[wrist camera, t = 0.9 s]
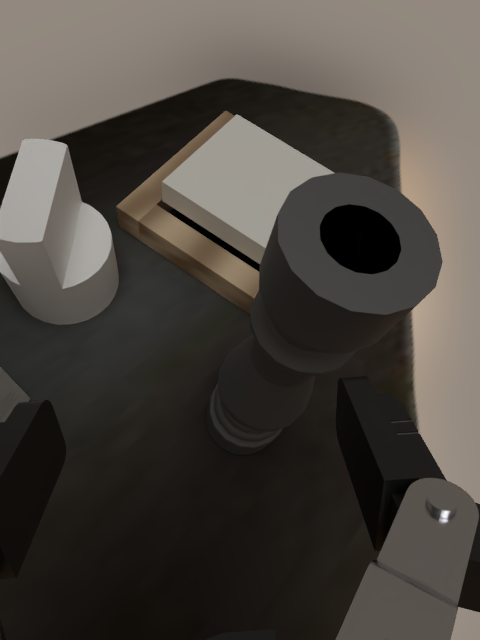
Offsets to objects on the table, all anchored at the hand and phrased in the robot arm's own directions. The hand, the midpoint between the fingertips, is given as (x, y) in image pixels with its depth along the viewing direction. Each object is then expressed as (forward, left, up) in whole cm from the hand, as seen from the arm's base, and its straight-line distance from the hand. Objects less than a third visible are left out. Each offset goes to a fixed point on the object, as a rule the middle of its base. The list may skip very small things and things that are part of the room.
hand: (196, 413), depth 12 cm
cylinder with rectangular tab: (-19, +9, -24) cm, 32 cm away
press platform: (-11, +25, -20) cm, 34 cm away
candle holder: (+1, +8, -24) cm, 25 cm away
